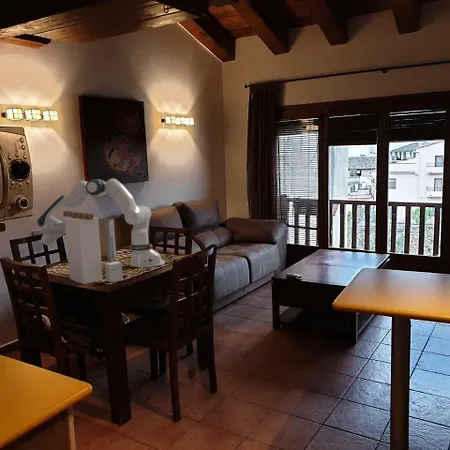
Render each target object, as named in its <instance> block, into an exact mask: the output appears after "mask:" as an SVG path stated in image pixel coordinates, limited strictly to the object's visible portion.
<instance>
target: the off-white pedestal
mask: <svg viewBox="0 0 450 450" xmlns="http://www.w3.org/2000/svg"><path fill="white" fill-rule="evenodd" d="M98 219H99V217H94V219H92V220H86V219H80V218H73V217H64V222H65V228H66V235H65V238H66V252H67V262H68V274H69V280H71V281H74V282H77V283H79V284H82V285H86V284H91V283H95V282H99V281H103V279H104V276H103V265H102V257H101V248H100V235H99V222H98Z"/></svg>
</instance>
